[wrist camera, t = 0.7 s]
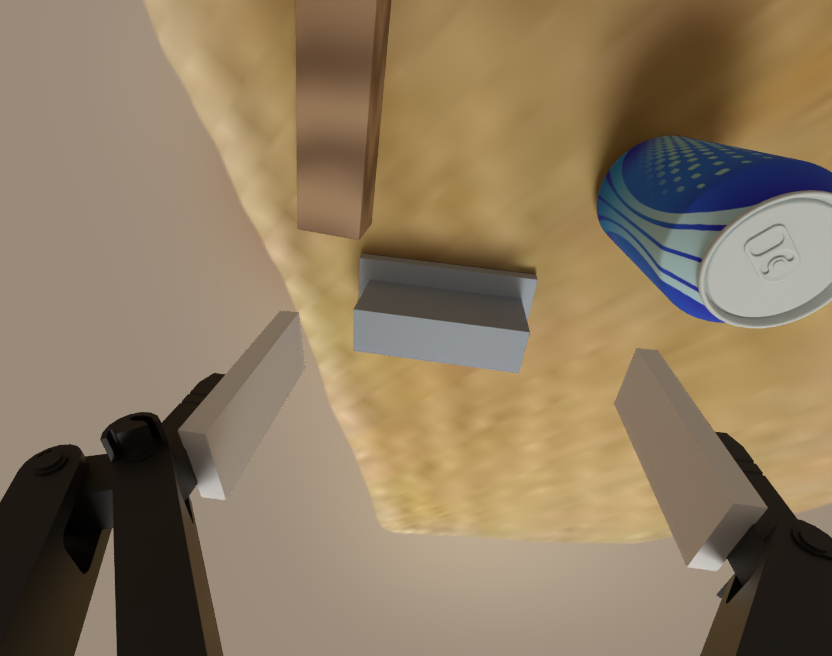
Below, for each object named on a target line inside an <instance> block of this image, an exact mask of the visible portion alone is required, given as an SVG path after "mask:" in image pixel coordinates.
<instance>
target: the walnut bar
mask: <svg viewBox="0 0 832 656" xmlns="http://www.w3.org/2000/svg"><path fill="white" fill-rule="evenodd" d="M390 9H391V0H296V103H297V229H300V230H306V231H311V232H317V233H322V234H328V235H333V236H339V237H344V238H350V239H355V240H359V239H360V238H361V237H362V235H363V234H364V233H365V232H366V230H367V229H368V228H369V226H370V225H371V224H372V212H373V201H374V190H375V179H376V167H377V156H378V145H379V133H380V122H381V111H382V99H383V88H384V77H385V66H386V54H387V43H388V32H389V20H390Z"/></svg>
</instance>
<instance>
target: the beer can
mask: <svg viewBox="0 0 832 656" xmlns="http://www.w3.org/2000/svg"><path fill="white" fill-rule="evenodd" d="M597 215H598V219H599V222H600V225H601V227H602V228H603V230H604V232H605V233H606V234H607V235H608V236H609V237H610V238H611V239H612V240H613V241H614V242H615V244H616V245H617V246H618V247H619V248H620V249H621V250H622V251H623V252H624V253H625V254H626V255H627V256H628V257H629V258H630V259H631V260H632V261H633V262H634V263H635V264H636V265H637V266H638V267H639V268H640V269H641V271H642V272H643V273H644V274H645V275H646V276H647V277H648V278H649V279H650V280H651V281H652V282H653V283H654V284H655V285H656V286H657V287H658V288H659V289H660V290H661V291H662V292H663V293H664V294H665V295H666V296H667V298H668V299H669V300H670V301H671V302H672V303H673V304H674V305H676V306H677V307H678V308H679V309H681V310H682V311H684V312H686V313H687V314H689V315H691V316H694V317H696V318H699V319H703V320H707V321H712V322H721V323H728V324H731V325H734V326H739V327H744V328H768V327H774V326H779V325H783V324H787V323H790V322H793V321H796V320H799V319H801V318H803V317H805V316H808V315H810V314H811V313H813V312H815V311H817V310H819V309H820V308H822V307H823V306H825V305H826V304H828V303H829V302H830V301H832V173H831V172H830V171H828V170H827V169H825V168H823V167H821V166H818V165H816V164H813V163H810V162H806V161H802V160H797V159H792V158H787V157H782V156H777V155H772V154H767V153H762V152H757V151H752V150H747V149H742V148H737V147H732V146H727V145H723V144H718V143H713V142H708V141H703V140H698V139H693V138H688V137H683V136H672V135H670V136H661V137H656V138H653V139H649V140H647V141H644V142H642V143H640V144H638V145H636V146H634V147H633V148H631V149H630V150H628V151H627V152H626V153H624V154H623V155H622V156H621V157H620V158H619V159H618V160H617V161H616V162H615V163H614V164H613V165H612V167H611V168H610V169H609V171H608V172H607V174H606V175H605V177H604V179H603V181H602V184H601V186H600V189H599V192H598V197H597Z"/></svg>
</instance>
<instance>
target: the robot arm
mask: <svg viewBox="0 0 832 656" xmlns="http://www.w3.org/2000/svg"><path fill="white" fill-rule="evenodd" d="M304 369H305V361H304V353H303V344H302V336H301V327H300V318H299V312H289V311H280V312H279V313H278V314H277V315H276V316H275V318H274V319H273V320H272V321H271V322H270V323H269V325H268V326H267V327H266V328H265V329H264V330H263V331H262V333H261V334H260V335H259V336H258V337H257V339H256V340H255V341H254V342H253V343H252V344H251V345H250V347H249V348H248V349H247V350H246V351H245V352H244V354H243V355H242V356H241V357H240V358H239V360H238V361H237V362H236V363H235V364H234V365H233V367H232V368H231V369H230V370H229V371H228V372H227V373H226V374H218V373H214V374H212V375H210V376H209V377H207V378H205V379H204V380H202V381H200V382H199V383H198V384H197V385H196V386H195V388H194V389H193V390H192V391H191V392H190V395H189V394H188V395H187V396H186V397H185V398H184V400H183V401H182V403H180V404H179V405H178V406H177V407H176V408H175V409H174V410H173V411H172V412H171V414H170V415H169V416H168V417H167V418H166V419H165V420H164V421H163V422H162V423H161V421H160V419H159V418H158V416H157V415H155V414H152V413H148V412H140V413H135V414H130V415H127V416H125V417H122V418H120V419H118V420H116V421H115V422H114V423H112V424H110V425H109V426H108V427H107V428H106V429H105V431H104V432H103V433H102V436H101V439H100V440H101V442H102V444H103V446H104V448H105V450H106V452H107V454H102V455H94V456H86V457H85V456H84V454H83V453H82V451H81V450H80V448H79V447H78V446H75V445H71V444H69V445H58V446H55V447H52V448H48V449H46V450H44V451H42V452H40V453H38V454H36V455H34V456H33V457H32V458H30V459H29V460H28V461H26V462H25V463H24V464H23V466H22V467H21V468H20V469H19V471H18V472H17V474H16V476H15V478H14V479H13V481H12V483H11V485H10V486H9V488H8V490H7V492H6V493H5V495H4V497H3V498H2V500H1V502H0V656H74V654H75V651H76V647H77V644H78V641H79V637H80V634H81V631H82V627H83V624H84V620H85V617H86V614H87V610H88V607H89V603H90V600H91V597H92V593H93V590H94V587H95V583H96V580H97V577H98V573H99V570H100V566H101V563H102V560H103V556H104V553H105V550H106V546H107V543H108V539H109V536H110V532H111V529H112V528H113V529H114V562H115V564H114V565H115V598H116V629H117V630H116V633H117V656H223V652H222V647H221V642H220V637H219V632H218V628H217V623H216V618H215V613H214V608H213V604H212V599H211V594H210V589H209V585H208V580H207V575H206V570H205V566H204V561H203V556H202V551H201V546H200V541H199V537H198V532H197V527H196V522H195V517H194V513H193V508H192V503H191V500H190V497H189V495H190V494H191V492H192V491H193V489H194V488H195V486H196V485H198V488H199V491H200V494H201V497H206V498H213V499H220V500H227V498H228V496H229V494H230V493H231V491H232V489H233V488H234V486H235V484H236V483H237V481H238V479H239V478H240V476H241V474H242V473H243V471H244V469H245V468H246V466H247V464H248V463H249V461H250V459H251V458H252V456H253V454H254V453H255V451H256V449H257V448H258V446H259V444H260V442H261V441H262V439H263V437H264V435H265V434H266V432H267V431H268V429H269V427H270V426H271V424H272V422H273V421H274V419H275V417H276V416H277V414H278V412H279V411H280V409H281V407H282V406H283V404H284V402H285V401H286V399H287V397H288V396H289V394H290V392H291V390H292V389H293V387H294V386H295V384H296V382H297V381H298V379H299V377H300V375H301V374H302V372H303V370H304ZM614 404H615V406H616V409H617V411H618V413H619V415H620V418H621V420H622V422H623V424H624V427H625V429H626V431H627V433H628V436H629V438H630V440H631V442H632V445H633V447H634V449H635V451H636V453H637V456H638V458H639V460H640V462H641V465H642V467H643V469H644V471H645V474H646V476H647V478H648V480H649V483H650V485H651V487H652V489H653V492H654V494H655V496H656V498H657V501H658V503H659V505H660V507H661V510H662V512H663V514H664V516H665V519H666V521H667V523H668V525H669V527H670V530H671V532H672V534H673V536H674V539H675V541H676V543H677V545H678V548H679V550H680V552H681V554H682V557H683V559H684V561H685V563H686V566H687V567H691V568H698V569H705V570H712V571H717V570H718V569H719V568H720V567H721V565H722V564H723V563H724V562H725V560H726V559H728V561H729V563H730V565H731V566H732V568H733V570H734V572H735V574H734V575H733V576H732V577H731V579H730V580H729V581H728V582H727V583H726V584H725V585H724V587H723V588H722V589H721V590H720V591H719V592H718V594H717V596H719V597H720V598H722V600H721V603H720V605H719V608H718V611H717V613H716V616H715V618H714V621H713V624H712V626H711V629H710V632H709V634H708V637H707V639H706V642H705V645H704V647H703V650H702V653H701V655H700V656H832V538H831V537H830V536H829V535H828V534H826V533H825V532H823V531H822V530H820V529H819V528H817V527H816V526H813V525H811V524H809V523H807V522H805V521H802V520H798V519H797V518H796V517H795V515H794V514H793V513H792V511H791V510H790V509H789V507H788V506H787V505H786V503H785V502H784V501H783V499H782V498H781V497H780V495H779V494H778V493H777V491H776V490H775V489H774V487H773V486H772V485H771V483H770V482H769V481H768V479H767V478H766V477H765V476H763V475H762V471H761V470H760V469H759V467H758V466H757V465H756V464H754V461H753V459H752V458H751V457H750V455H749V454H748V453H747V451H746V450H745V449H744V447H743V446H742V445H740V444H739V443H738V442H737V441H736V440H734V439H733V438H732V437H731V436H729V435H728V434H727V433H721V432H715V431H714V430H713V429H712V427H711V426H710V424H709V423H708V421H707V420H706V419H705V417H704V416H703V414H702V413H701V411H700V410H699V409H698V407H697V406H696V404H695V403H694V401H693V400H692V399H691V397H690V396H689V394H688V393H687V392H686V390H685V389H684V387H683V386H682V384H681V383H680V382H679V380H678V379H677V377H676V376H675V374H674V373H673V372H672V370H671V369H670V367H669V366H668V364H667V363H666V362H665V360H664V359H663V357H662V356H661V354H660V353H659V352H658V350H650V349H641V348H636V351H635V353H634V356H633V358H632V360H631V363H630V365H629V368H628V370H627V373H626V375H625V378H624V380H623V383H622V385H621V388H620V390H619V393H618V395H617V398H616V400H615V403H614Z"/></svg>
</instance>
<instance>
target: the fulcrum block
mask: <svg viewBox="0 0 832 656" xmlns="http://www.w3.org/2000/svg"><path fill="white" fill-rule="evenodd" d="M537 281H538V279H537V276H536V275H535V274H527V273H519V272H511V271H503V270H494V269H486V268H478V267H470V266H461V265H453V264H445V263H437V262H429V261H420V260H412V259H404V258H396V257H388V256H379V255H371V254H362V255H361V256H360V258H359V301H358V302H357V304H356V306H355V308H354V350H353V351H359V352H366V353H373V354H381V355H388V356H395V357H403V358H410V359H417V360H425V361H432V362H439V363H447V364H454V365H461V366H469V367H476V368H483V369H491V370H498V371H505V372H513V373H519V371H520V367H521V364H522V360H523V356H524V352H525V349H526V345H527V341H528V337H529V334H530V331H529V327H528V323H527V320H528V316H529V312H530V308H531V304H532V301H533V297H534V293H535V289H536V285H537Z"/></svg>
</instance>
